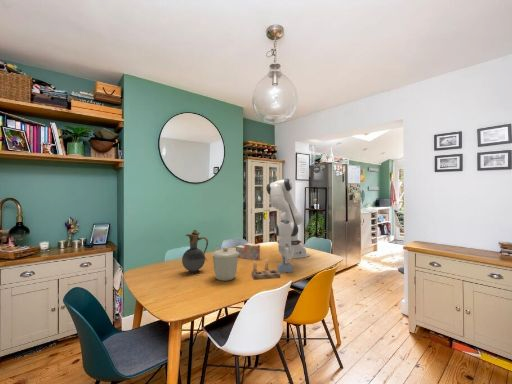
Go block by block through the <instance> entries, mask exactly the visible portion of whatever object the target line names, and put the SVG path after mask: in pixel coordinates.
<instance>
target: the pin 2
mask: <svg viewBox="0 0 512 384" xmlns="http://www.w3.org/2000/svg"><path fill="white" fill-rule="evenodd" d="M264 271H269V259H264Z"/></svg>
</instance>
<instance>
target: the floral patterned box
mask: <svg viewBox="0 0 512 384" xmlns="http://www.w3.org/2000/svg"><path fill="white" fill-rule="evenodd" d="M260 246H261V244H257V243H251V242H250V243H249V242H247V243H244V244H243V245H240V244H239V245H237V246H235V251H237V252H239V255H238V259H239V258H241V259H245V260H250V261H258V260H260V259H261V258H260V256H261V254H260V253H261V247H260Z"/></svg>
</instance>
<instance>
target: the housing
mask: <svg viewBox="0 0 512 384" xmlns="http://www.w3.org/2000/svg"><path fill="white" fill-rule="evenodd" d="M281 258H282V261H281V262H280V263H277V266H276V267H277V269H276V270H277V271H278V272H279V273H280V274H284V273H286V272H288V273H294V264H293V263H291V262H288V263H285V257H282V256H281ZM286 274H287V273H286Z"/></svg>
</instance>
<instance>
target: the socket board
mask: <svg viewBox="0 0 512 384" xmlns="http://www.w3.org/2000/svg"><path fill="white" fill-rule="evenodd" d="M251 277H252V279H253V280H265V279H278V278H279V279H280V278H281V273H279V272H278V271H277V269H273V270H269V269H268V270H259V271H258V270H257V271H251Z"/></svg>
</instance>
